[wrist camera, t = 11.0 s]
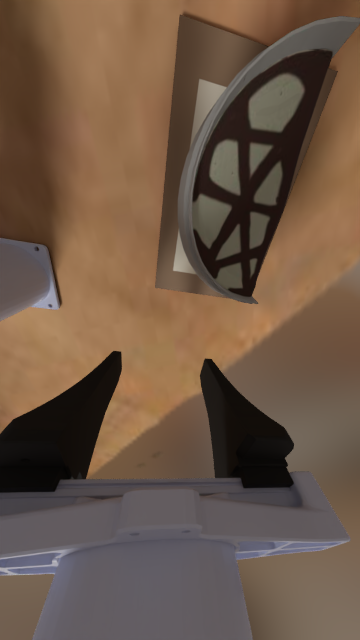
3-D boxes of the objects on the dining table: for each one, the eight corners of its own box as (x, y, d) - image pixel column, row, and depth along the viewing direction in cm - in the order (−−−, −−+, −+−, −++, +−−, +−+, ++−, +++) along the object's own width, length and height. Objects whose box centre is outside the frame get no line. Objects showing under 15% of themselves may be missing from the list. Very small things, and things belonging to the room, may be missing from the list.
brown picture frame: (155, 286, 21) (155, 287, 20) (179, 24, 11) (179, 14, 11) (246, 299, 22) (248, 301, 22) (331, 78, 13) (338, 71, 12)
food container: (181, 131, 14) (200, -64, 5) (247, 144, 14) (373, -10, 5) (170, 273, 19) (169, 303, 11) (218, 278, 20) (255, 310, 11)
